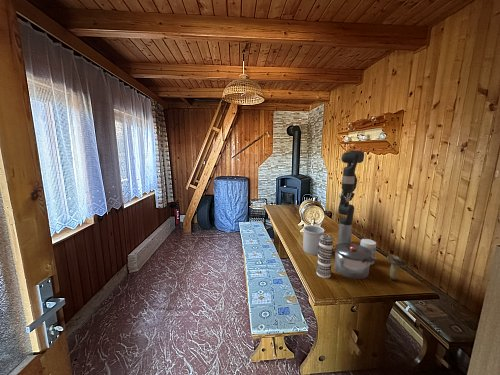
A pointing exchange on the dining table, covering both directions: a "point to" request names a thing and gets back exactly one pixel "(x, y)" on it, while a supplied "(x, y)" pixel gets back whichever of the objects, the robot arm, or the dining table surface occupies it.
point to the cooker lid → (354, 251)
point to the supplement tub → (369, 247)
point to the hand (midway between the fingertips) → (345, 207)
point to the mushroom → (395, 265)
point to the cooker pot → (351, 267)
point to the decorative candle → (325, 256)
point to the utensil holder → (312, 239)
